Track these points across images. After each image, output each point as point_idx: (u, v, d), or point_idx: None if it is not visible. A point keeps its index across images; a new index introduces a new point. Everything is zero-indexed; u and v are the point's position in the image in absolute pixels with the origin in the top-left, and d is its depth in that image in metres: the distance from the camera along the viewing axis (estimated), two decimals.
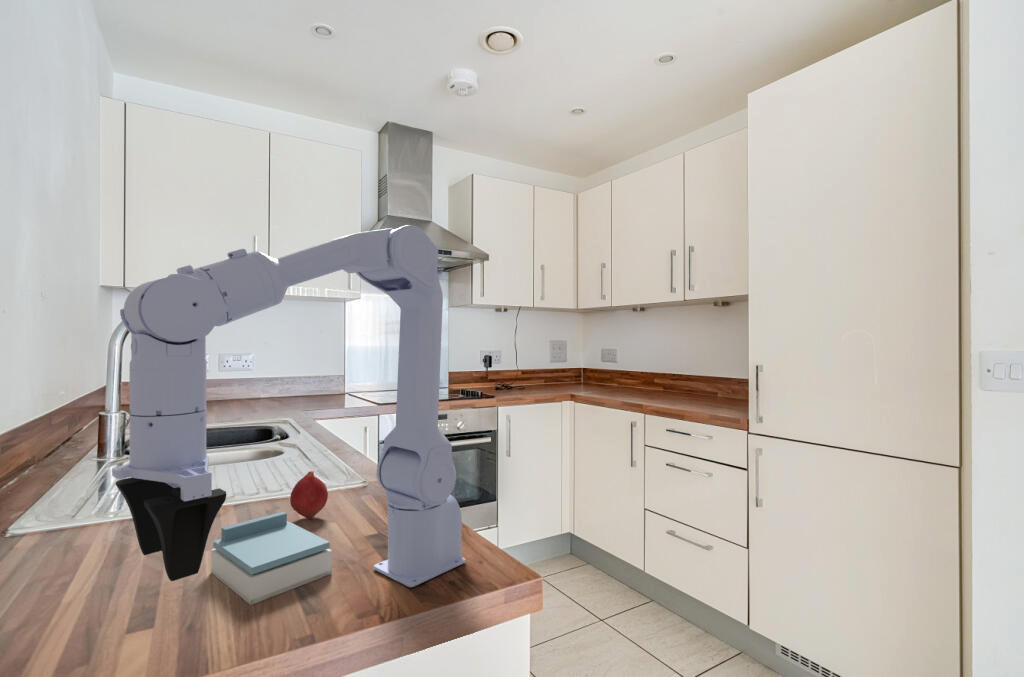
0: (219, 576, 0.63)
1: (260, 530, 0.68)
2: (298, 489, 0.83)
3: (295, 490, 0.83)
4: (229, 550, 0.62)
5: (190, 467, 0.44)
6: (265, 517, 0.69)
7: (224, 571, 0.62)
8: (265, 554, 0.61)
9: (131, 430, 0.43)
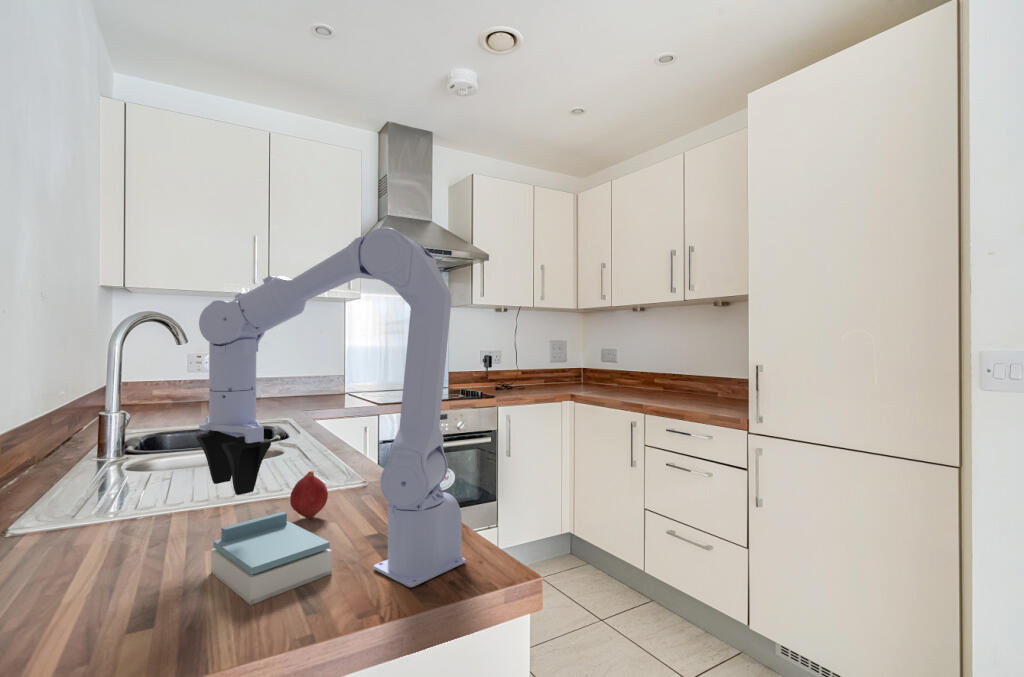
0: (219, 576, 0.63)
1: (260, 530, 0.68)
2: (298, 489, 0.83)
3: (295, 490, 0.83)
4: (229, 550, 0.62)
5: (248, 424, 0.69)
6: (265, 517, 0.69)
7: (224, 571, 0.62)
8: (265, 554, 0.61)
9: (211, 400, 0.68)
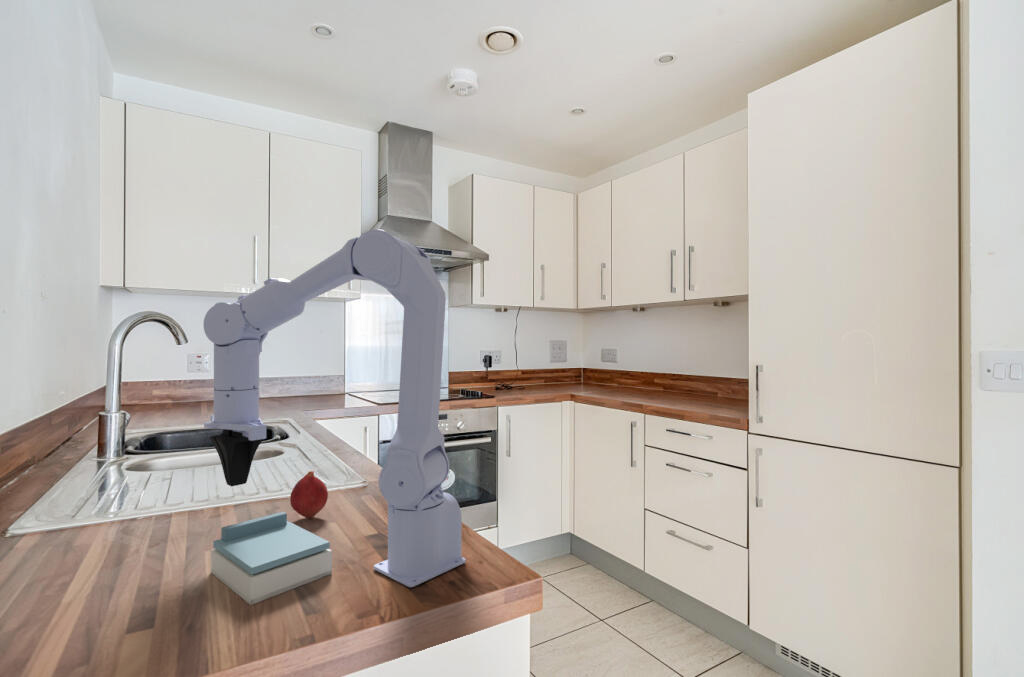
0: (219, 576, 0.63)
1: (260, 530, 0.68)
2: (298, 489, 0.83)
3: (295, 490, 0.83)
4: (229, 550, 0.62)
5: (251, 423, 0.71)
6: (265, 517, 0.69)
7: (224, 571, 0.62)
8: (265, 554, 0.61)
9: (215, 399, 0.70)
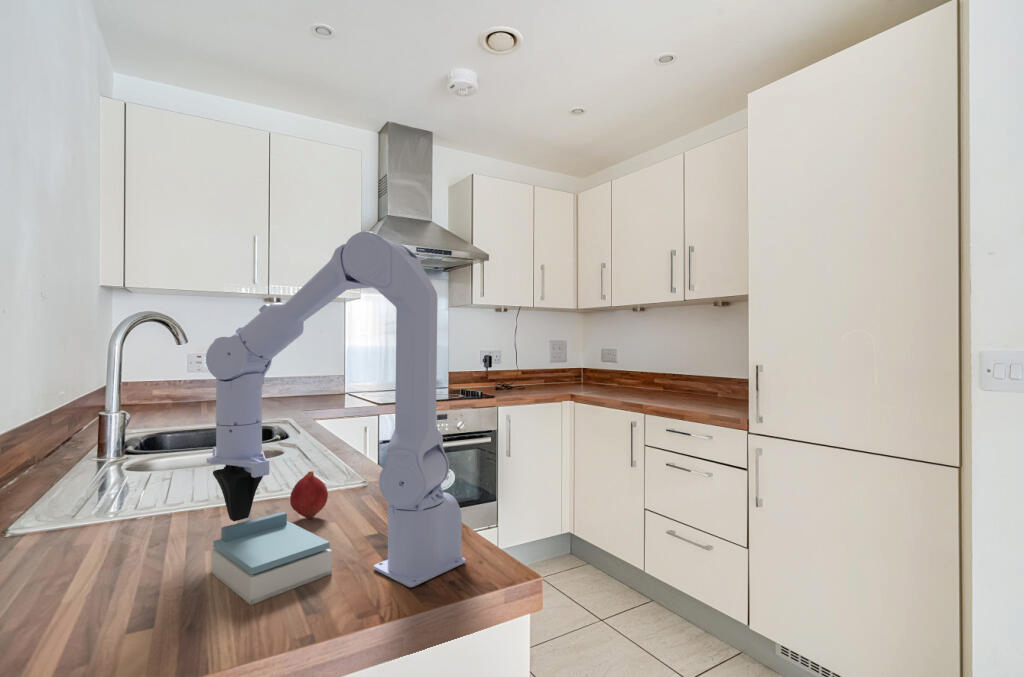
0: (219, 576, 0.63)
1: (260, 530, 0.68)
2: (298, 489, 0.83)
3: (295, 490, 0.83)
4: (229, 550, 0.62)
5: (254, 457, 0.70)
6: (265, 517, 0.69)
7: (224, 571, 0.62)
8: (265, 554, 0.61)
9: (218, 434, 0.69)
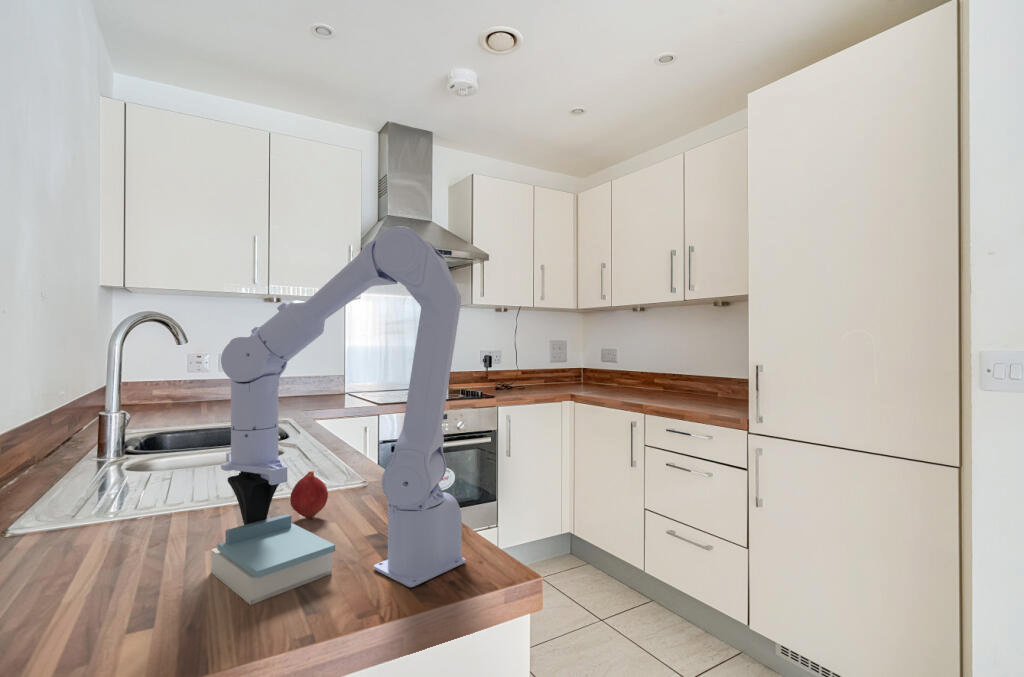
0: (219, 576, 0.63)
1: (265, 532, 0.67)
2: (298, 489, 0.83)
3: (295, 490, 0.83)
4: (233, 553, 0.61)
5: (270, 463, 0.67)
6: (270, 519, 0.68)
7: (224, 571, 0.62)
8: (270, 557, 0.60)
9: (233, 439, 0.66)
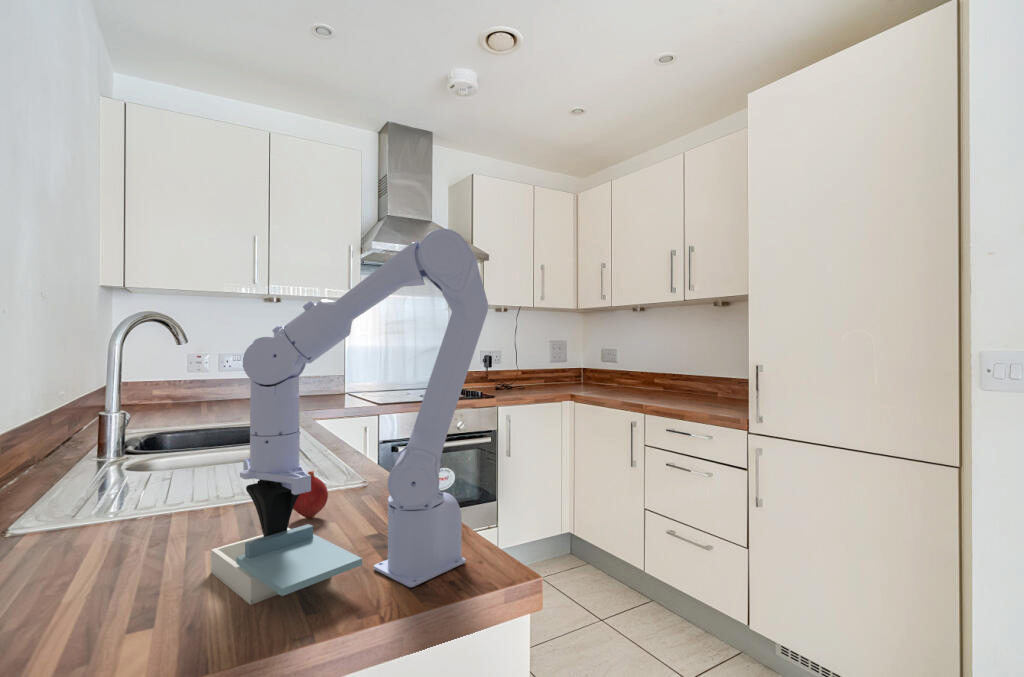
0: (219, 576, 0.63)
1: (286, 544, 0.63)
2: None
3: None
4: (255, 568, 0.58)
5: (292, 471, 0.63)
6: (291, 530, 0.65)
7: (224, 571, 0.62)
8: (294, 572, 0.56)
9: (252, 445, 0.62)
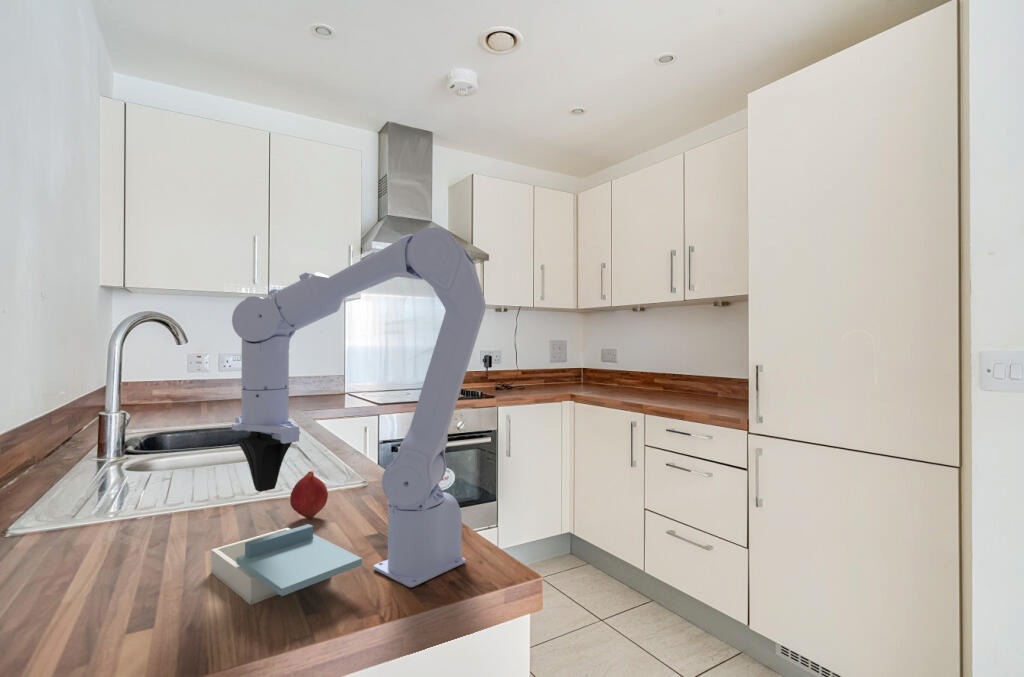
0: (219, 576, 0.63)
1: (286, 544, 0.63)
2: (298, 489, 0.83)
3: (295, 490, 0.83)
4: (255, 568, 0.58)
5: (281, 424, 0.67)
6: (291, 530, 0.65)
7: (224, 571, 0.62)
8: (294, 572, 0.56)
9: (244, 399, 0.66)
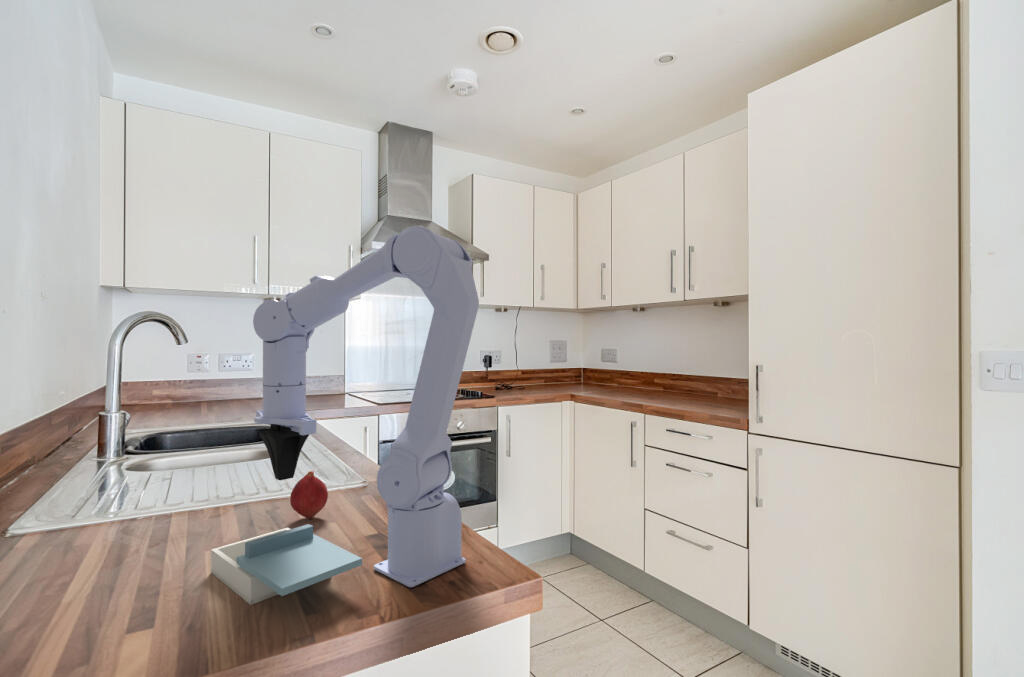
0: (219, 576, 0.63)
1: (286, 544, 0.63)
2: (298, 489, 0.83)
3: (295, 490, 0.83)
4: (255, 568, 0.58)
5: (299, 418, 0.72)
6: (291, 530, 0.65)
7: (224, 571, 0.62)
8: (294, 572, 0.56)
9: (265, 395, 0.71)
